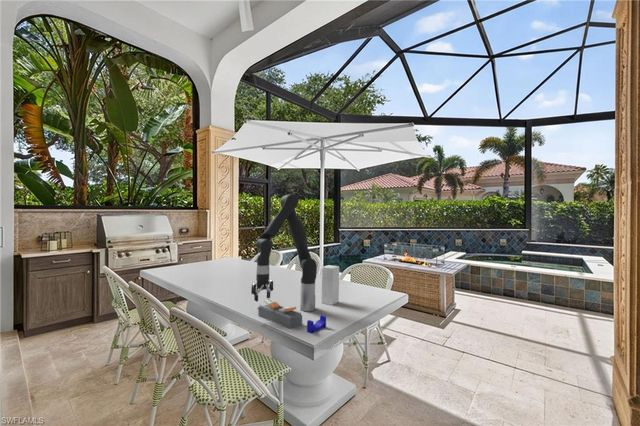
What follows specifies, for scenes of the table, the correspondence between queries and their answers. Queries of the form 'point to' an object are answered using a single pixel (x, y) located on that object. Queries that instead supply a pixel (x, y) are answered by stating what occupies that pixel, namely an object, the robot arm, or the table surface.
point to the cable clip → (316, 324)
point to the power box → (280, 316)
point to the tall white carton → (330, 284)
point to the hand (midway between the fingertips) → (262, 299)
